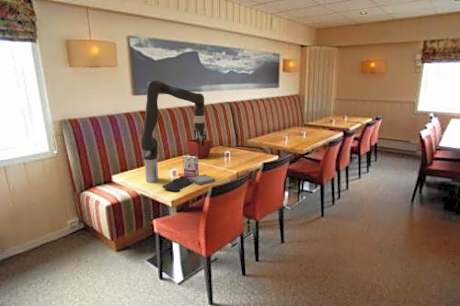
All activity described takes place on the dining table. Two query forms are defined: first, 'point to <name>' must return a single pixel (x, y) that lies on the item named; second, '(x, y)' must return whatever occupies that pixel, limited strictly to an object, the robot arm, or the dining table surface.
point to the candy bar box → (190, 166)
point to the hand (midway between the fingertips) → (200, 144)
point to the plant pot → (198, 148)
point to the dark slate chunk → (178, 184)
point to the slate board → (201, 179)
